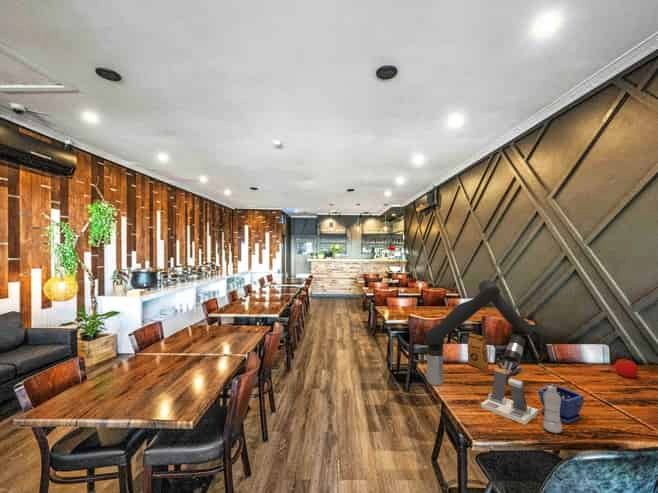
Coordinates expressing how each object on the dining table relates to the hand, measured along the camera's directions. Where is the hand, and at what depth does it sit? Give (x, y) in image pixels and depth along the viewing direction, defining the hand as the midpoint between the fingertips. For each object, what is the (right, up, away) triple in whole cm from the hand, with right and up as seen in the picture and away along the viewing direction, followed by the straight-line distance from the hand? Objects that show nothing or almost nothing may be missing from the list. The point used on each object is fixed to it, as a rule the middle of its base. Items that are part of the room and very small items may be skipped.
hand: (504, 381), depth 158 cm
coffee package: (+11, -13, +50) cm, 53 cm away
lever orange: (-7, -8, -5) cm, 11 cm away
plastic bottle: (+5, -10, -27) cm, 29 cm away
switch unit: (-3, -11, -9) cm, 14 cm away
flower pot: (+18, -10, -16) cm, 26 cm away
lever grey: (0, -7, -14) cm, 15 cm away
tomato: (+97, -12, +31) cm, 102 cm away
